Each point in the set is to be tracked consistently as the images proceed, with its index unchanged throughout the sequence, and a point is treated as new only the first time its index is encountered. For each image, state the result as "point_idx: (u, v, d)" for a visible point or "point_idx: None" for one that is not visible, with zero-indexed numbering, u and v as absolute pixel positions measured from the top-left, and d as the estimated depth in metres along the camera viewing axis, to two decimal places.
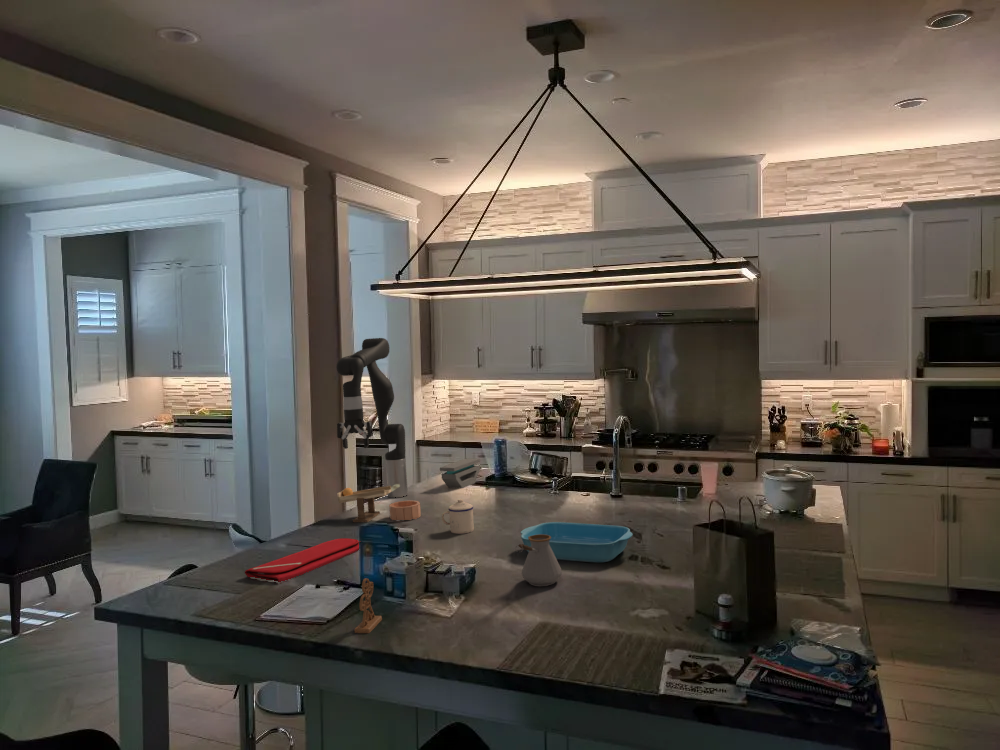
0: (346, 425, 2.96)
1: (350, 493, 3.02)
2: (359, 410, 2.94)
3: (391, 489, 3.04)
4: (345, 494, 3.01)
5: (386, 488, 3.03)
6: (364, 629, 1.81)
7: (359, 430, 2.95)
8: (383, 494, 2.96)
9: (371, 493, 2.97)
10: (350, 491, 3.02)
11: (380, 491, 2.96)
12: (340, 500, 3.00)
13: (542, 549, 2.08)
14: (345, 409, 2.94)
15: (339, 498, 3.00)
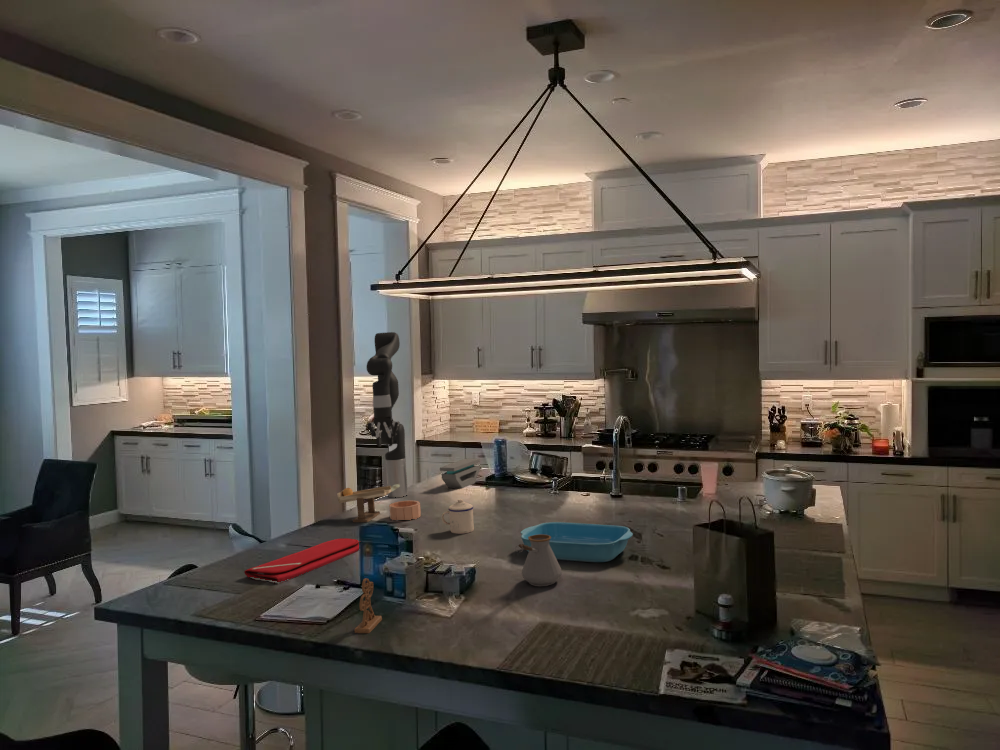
0: (375, 422, 3.12)
1: (350, 493, 3.02)
2: (388, 408, 3.09)
3: (391, 489, 3.04)
4: (345, 494, 3.01)
5: (386, 488, 3.03)
6: (364, 629, 1.81)
7: (386, 428, 3.10)
8: (383, 494, 2.96)
9: (371, 493, 2.97)
10: (350, 491, 3.02)
11: (380, 491, 2.96)
12: (340, 500, 3.00)
13: (542, 549, 2.08)
14: (375, 407, 3.09)
15: (339, 498, 3.00)
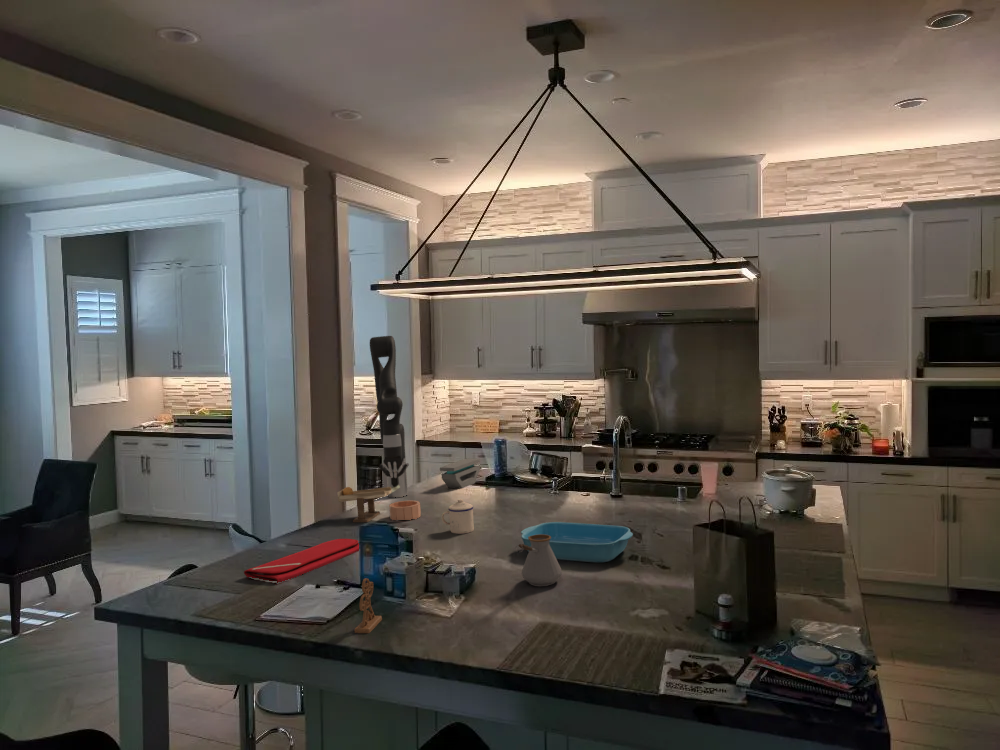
0: (386, 462, 3.10)
1: (350, 492, 3.02)
2: (398, 447, 3.08)
3: (391, 490, 3.04)
4: (345, 493, 3.01)
5: (386, 489, 3.03)
6: (364, 629, 1.81)
7: (395, 468, 3.08)
8: (383, 495, 2.96)
9: (371, 493, 2.97)
10: (350, 490, 3.02)
11: (380, 492, 2.96)
12: (340, 499, 3.00)
13: (542, 549, 2.08)
14: (385, 447, 3.07)
15: (339, 497, 3.00)
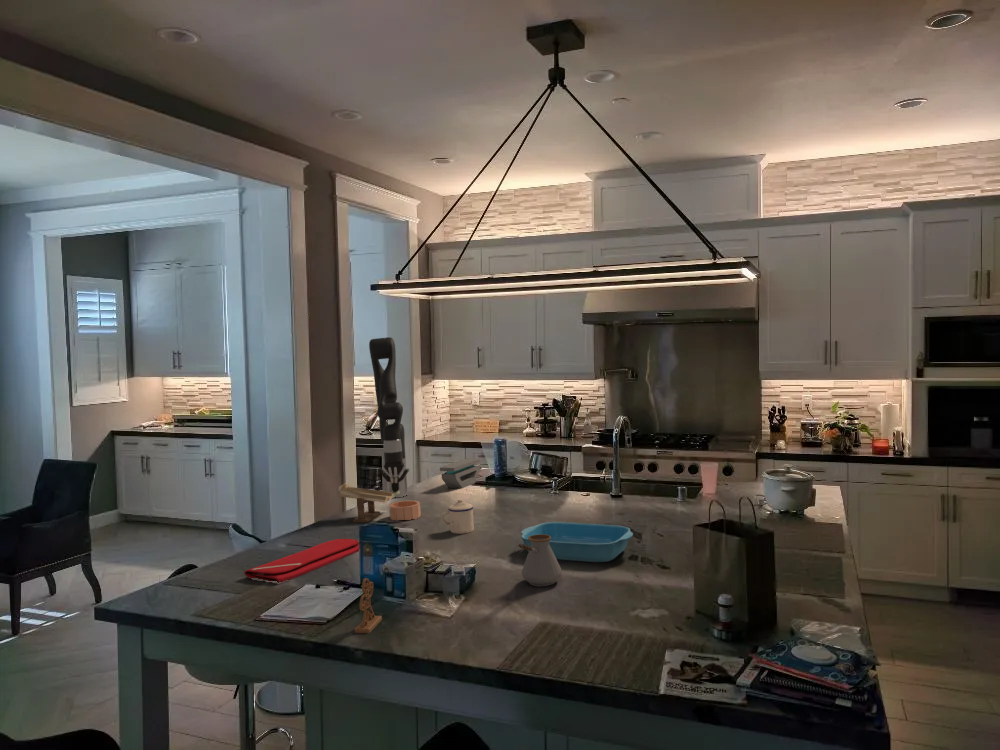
0: (386, 467, 3.10)
1: None
2: (399, 453, 3.08)
3: (392, 496, 3.04)
4: None
5: (387, 494, 3.03)
6: (364, 629, 1.81)
7: (395, 473, 3.08)
8: (383, 501, 2.96)
9: (372, 496, 2.97)
10: None
11: (381, 497, 2.96)
12: (340, 494, 3.00)
13: (542, 549, 2.08)
14: (385, 452, 3.07)
15: (339, 491, 3.00)
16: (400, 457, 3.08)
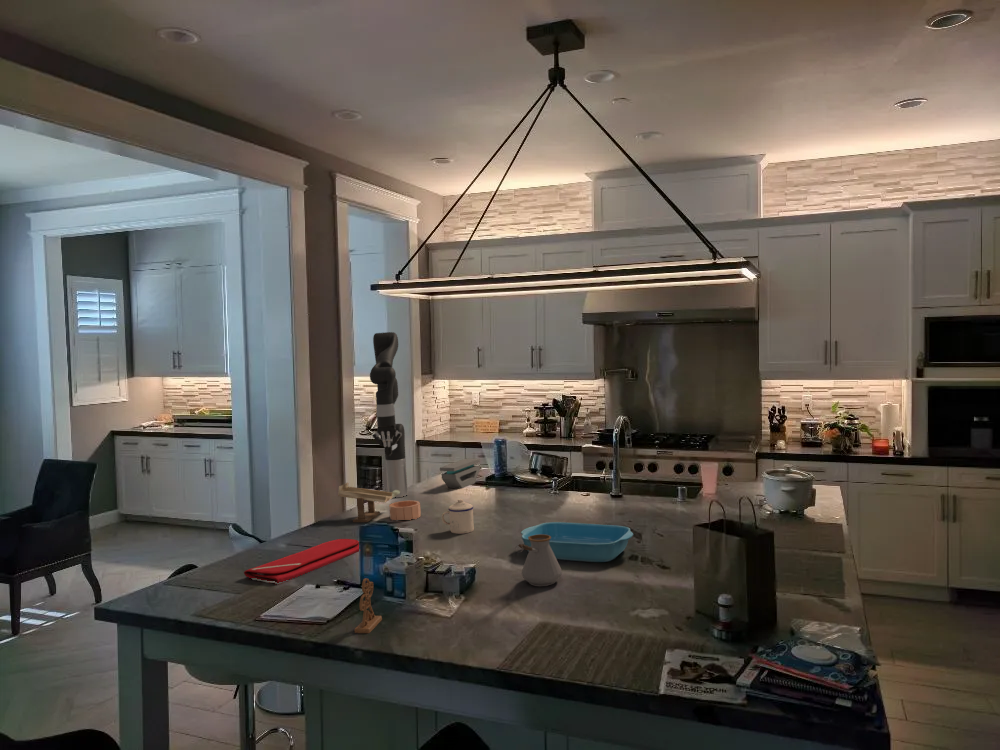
0: (379, 431, 3.11)
1: None
2: (392, 417, 3.09)
3: (392, 496, 3.04)
4: None
5: (387, 494, 3.03)
6: (364, 629, 1.81)
7: (388, 437, 3.10)
8: (383, 501, 2.96)
9: (372, 496, 2.97)
10: None
11: (381, 497, 2.96)
12: (340, 494, 3.00)
13: (542, 549, 2.08)
14: (378, 416, 3.09)
15: (339, 491, 3.00)
16: (393, 421, 3.10)
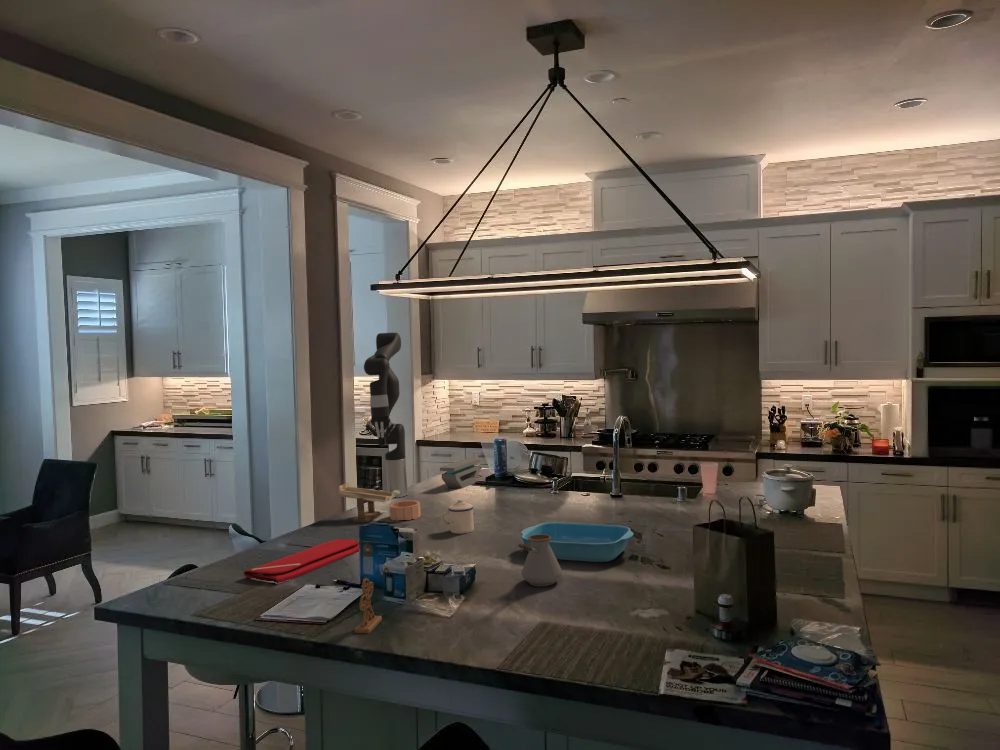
0: (373, 422, 3.14)
1: None
2: (385, 408, 3.12)
3: (392, 496, 3.04)
4: None
5: (387, 494, 3.03)
6: (364, 629, 1.81)
7: (382, 428, 3.13)
8: (383, 501, 2.96)
9: (372, 496, 2.97)
10: None
11: (381, 497, 2.96)
12: (340, 494, 3.00)
13: (542, 549, 2.08)
14: (372, 407, 3.11)
15: (339, 491, 3.00)
16: (386, 412, 3.12)
